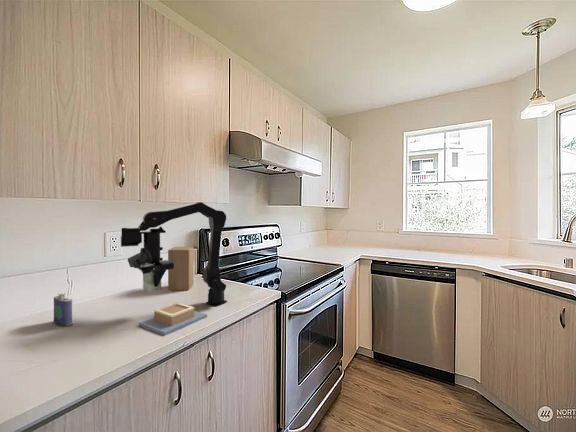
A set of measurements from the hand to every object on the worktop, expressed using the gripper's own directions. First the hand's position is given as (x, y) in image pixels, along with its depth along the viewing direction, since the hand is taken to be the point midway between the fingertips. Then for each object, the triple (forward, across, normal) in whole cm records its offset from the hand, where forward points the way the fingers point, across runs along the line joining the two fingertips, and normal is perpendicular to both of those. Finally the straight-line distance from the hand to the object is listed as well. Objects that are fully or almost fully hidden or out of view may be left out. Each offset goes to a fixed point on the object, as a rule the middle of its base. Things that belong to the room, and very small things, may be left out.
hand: (152, 285), depth 110 cm
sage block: (+1, 0, 0) cm, 1 cm away
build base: (+11, +13, 0) cm, 17 cm away
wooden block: (+11, -19, +29) cm, 37 cm away
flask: (+11, -18, -22) cm, 31 cm away
